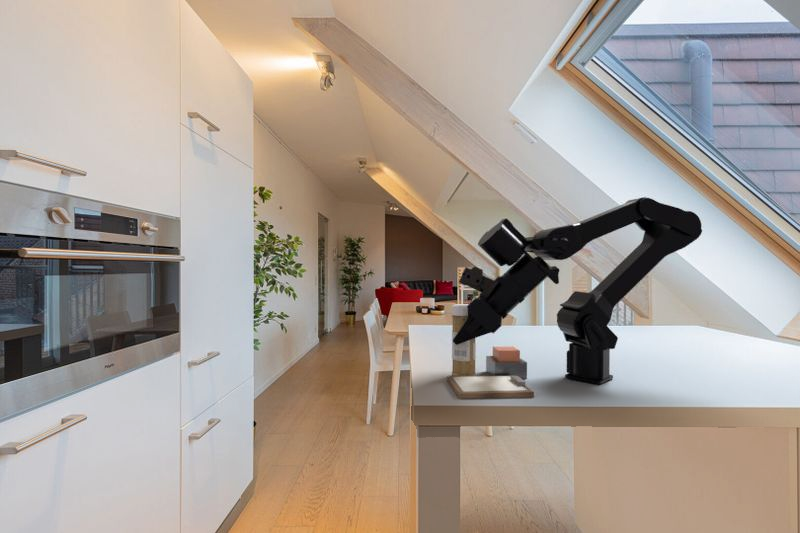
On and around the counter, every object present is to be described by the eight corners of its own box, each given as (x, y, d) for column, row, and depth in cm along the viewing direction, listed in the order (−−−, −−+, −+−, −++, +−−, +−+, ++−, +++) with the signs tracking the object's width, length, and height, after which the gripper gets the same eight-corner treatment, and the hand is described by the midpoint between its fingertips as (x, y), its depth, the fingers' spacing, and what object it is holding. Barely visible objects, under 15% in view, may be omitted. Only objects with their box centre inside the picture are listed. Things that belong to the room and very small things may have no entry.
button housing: (515, 370, 88) (516, 355, 88) (526, 378, 82) (527, 362, 82) (486, 371, 88) (486, 355, 88) (495, 379, 82) (495, 362, 82)
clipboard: (512, 379, 81) (512, 371, 81) (533, 397, 71) (534, 387, 71) (447, 380, 80) (447, 372, 80) (459, 398, 70) (459, 388, 70)
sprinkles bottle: (480, 376, 84) (481, 304, 84) (465, 380, 81) (466, 306, 80) (461, 372, 87) (461, 303, 87) (446, 376, 84) (446, 304, 84)
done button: (512, 361, 87) (512, 346, 87) (519, 366, 83) (519, 350, 83) (492, 362, 87) (492, 346, 87) (498, 366, 83) (498, 350, 83)
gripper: (489, 252, 92) (436, 305, 95) (480, 250, 74) (415, 315, 77) (529, 292, 90) (473, 344, 93) (530, 299, 72) (460, 363, 75)
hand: (456, 340), depth 84 cm, fingers closed on sprinkles bottle, 4 cm apart
